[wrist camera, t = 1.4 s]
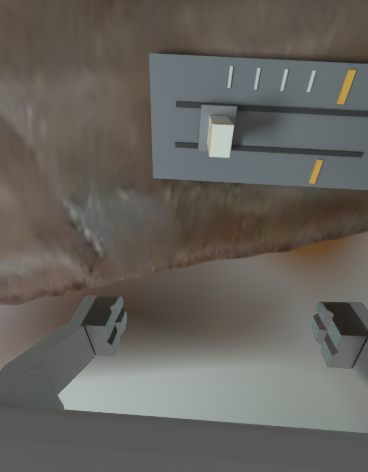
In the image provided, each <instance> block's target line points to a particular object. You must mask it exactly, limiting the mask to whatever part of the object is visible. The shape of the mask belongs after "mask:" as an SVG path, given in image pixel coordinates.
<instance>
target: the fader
mask: <svg viewBox="0 0 368 472" xmlns="http://www.w3.org/2000/svg"><path fill="white" fill-rule="evenodd" d="M236 112H237V106H234V105H215V104H201V115H200V129H199V143H198V151H208V152H209V157H222V158H229V157H230V153H231V146H232V139H233V133H234V126H235V119H236Z"/></svg>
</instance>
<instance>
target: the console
mask: <svg viewBox="0 0 368 472" xmlns="http://www.w3.org/2000/svg"><path fill="white" fill-rule="evenodd" d="M149 60H150V92H151V123H152V155H153V178H160V179H178V180H196V181H214V182H232V183H250V184H268V185H286V186H304V187H322V188H340V189H358V190H368V64H356V63H336V62H316V61H296V60H276V59H256V58H236V57H216V56H195V55H175V54H155V53H149ZM201 104H215V105H234V106H237V112H236V119H235V126H234V133H233V139H232V146H231V153H230V157H229V158H222V157H209V152H208V151H198V143H199V129H200V115H201Z"/></svg>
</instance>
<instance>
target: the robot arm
mask: <svg viewBox="0 0 368 472" xmlns="http://www.w3.org/2000/svg"><path fill="white" fill-rule="evenodd" d="M122 306H123V299H122V297H117V296H93V295H87V296H86V297H85V298H84V299H83V301H82V303H81V304H80V306H79V308H78V309H77V311H76V312H75V314H74V315H73V317H72V319H71V320H70V322H69V323H68V325H64V326H62V327H61V328H59V329H58V330H56V331H55V332H53V333H52V334H50V335H49V336H47V337H46V338H44V339H43V340H42V341H40V342H38V343H37V344H36V345H34V346H33V347H31V348H30V349H28V350H27V351H25V352H24V353H22V354H21V355H19V356H18V357H16V358H15V359H13V360H12V361H11V362H9V363H8V364H6V365H5V366H4V367H3V368H2V369H1V371H0V472H368V433H357V432H345V431H332V430H320V429H307V428H295V427H282V426H269V425H257V424H243V423H231V422H217V421H205V420H192V419H180V418H167V417H154V416H141V415H128V414H115V413H102V412H90V411H76V410H64V405H63V403H62V402H61V400H60V398H59V397H58V394H59V393H60V392H61V391H62V390H63V389H64V388H65V387H66V386H67V385H68V384H69V383H70V382H71V381H72V380H73V379H74V378H75V377H76V376H77V375H78V374H79V373H80V372H81V371H82V370H83V369H84V368H85V367H86V365H88V363H90V361H91V360H92V359H93V358H94V357H95V355H100V356H101V355H103V356H115V355H116V352H117V349H118V346H119V344H120V339H119V336H120V335H121V334H122V333H123V332H124V330H125V327H126V319H127V316H126V311H125V309H123V308H122ZM316 310H317V312H318V313H317V314H316V315H314V316H313V319H312V332H313V335H314V338H315V340H316V341H317V342H318V343H320V344H321V345H322V348H321V353H322V356H323V358H324V360H325V362H326V364H327V367H334V368H346V369H352V371H353V372H354V373H355V374H356V375H357V376H358V377H359V378H360V379H362V380H363V381H364V382H365V383H366V384H367V385H368V310H367V308H366V307H365V305H364V304H362V303H361V302H319V303H318V304H317V306H316Z"/></svg>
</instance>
